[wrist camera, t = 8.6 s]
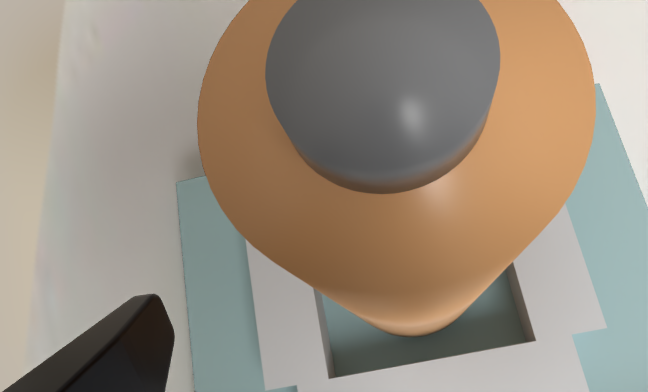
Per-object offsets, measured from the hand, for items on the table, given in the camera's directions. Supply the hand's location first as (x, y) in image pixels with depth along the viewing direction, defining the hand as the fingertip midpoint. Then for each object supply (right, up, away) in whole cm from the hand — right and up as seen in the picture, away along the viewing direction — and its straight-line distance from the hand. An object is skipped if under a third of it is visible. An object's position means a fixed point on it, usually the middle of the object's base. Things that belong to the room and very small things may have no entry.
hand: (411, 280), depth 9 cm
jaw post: (+1, -1, +9) cm, 9 cm away
